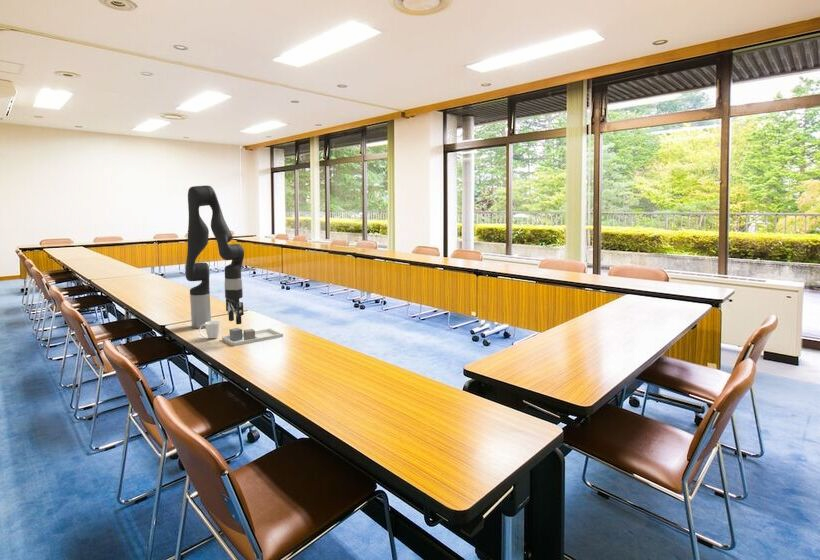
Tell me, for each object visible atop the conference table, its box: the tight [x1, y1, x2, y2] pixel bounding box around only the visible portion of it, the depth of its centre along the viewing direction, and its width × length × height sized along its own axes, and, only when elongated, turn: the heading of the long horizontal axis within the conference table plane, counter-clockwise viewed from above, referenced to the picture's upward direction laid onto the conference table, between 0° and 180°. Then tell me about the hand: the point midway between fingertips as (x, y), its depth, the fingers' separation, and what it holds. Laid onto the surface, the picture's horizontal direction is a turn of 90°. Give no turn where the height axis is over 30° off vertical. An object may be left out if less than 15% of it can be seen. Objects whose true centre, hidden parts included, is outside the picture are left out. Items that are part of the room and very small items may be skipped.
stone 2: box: [243, 328, 256, 341], centre depth 214 cm, size 4×4×5 cm
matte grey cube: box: [229, 327, 243, 341], centre depth 215 cm, size 4×4×5 cm
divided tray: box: [221, 328, 284, 347], centre depth 219 cm, size 13×24×2 cm, turn 133°
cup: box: [198, 320, 221, 339], centre depth 217 cm, size 7×10×8 cm
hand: (235, 322), depth 214 cm, fingers open, 8 cm apart
